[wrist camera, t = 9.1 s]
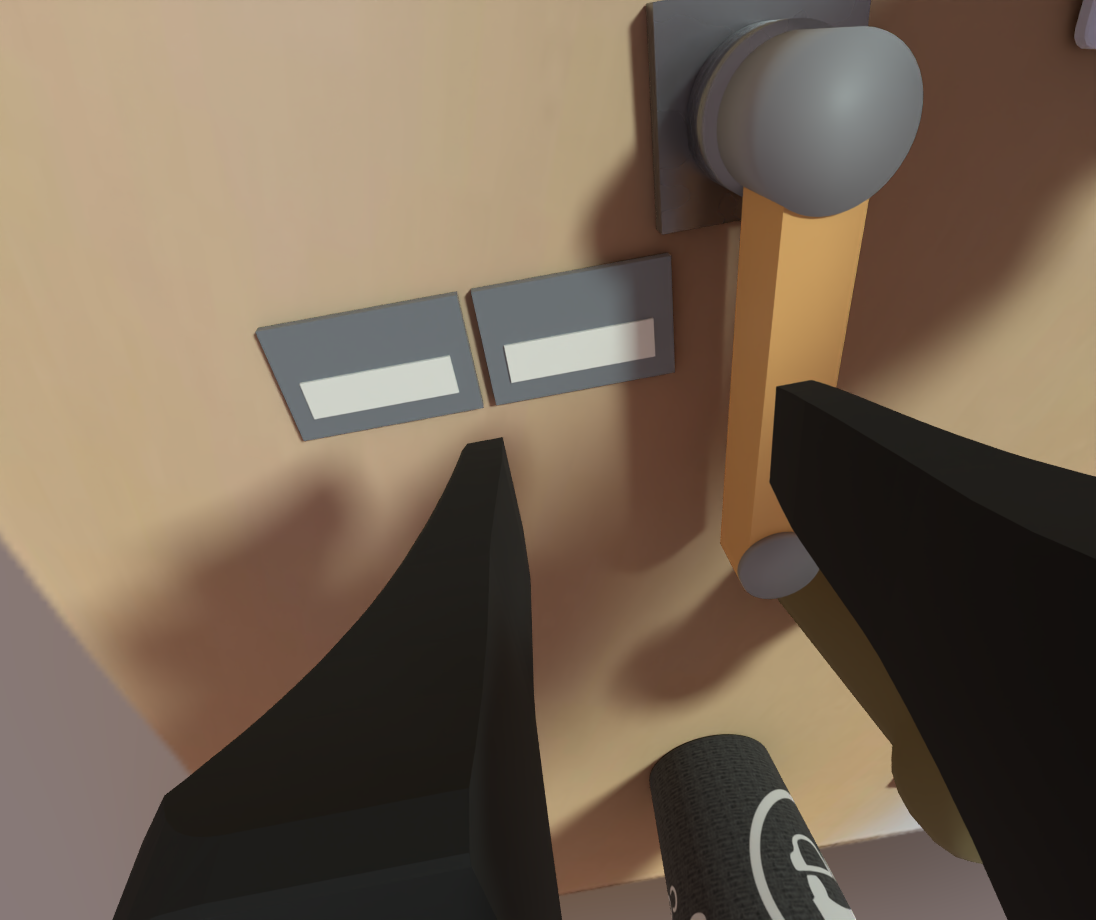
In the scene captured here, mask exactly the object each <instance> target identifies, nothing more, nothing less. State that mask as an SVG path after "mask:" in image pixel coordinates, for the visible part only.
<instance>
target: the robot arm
mask: <svg viewBox="0 0 1096 920" xmlns="http://www.w3.org/2000/svg"><path fill="white" fill-rule="evenodd" d="M1074 38H1075V42H1076V45H1077V46H1079V47H1080V48H1081V49H1096V0H1083V3H1082V6H1081V10H1080V13H1079V17H1078V21H1077V24H1076V28H1075V35H1074ZM769 483H770V485H771V487H772V489H773V491H774V493H775V495H776V498H777V500H778V502H779V504H780V506H781V508H782V510H783V512H784V514H785V516H786V518H787V520H788V522H789V524H790V526H791V528H792V529H793V531H794V532H795V534H796V535H797V537H798V538H799V540H800V541H801V543H802V544H803V546H804V547H805V549H806V550H807V552H808V553H809V555H810V556H811V557H812V559H813V560H814V562H815V563H816V565H817V566H818V568H819V569H820V571H821V572H822V573H823V575H824V576H825V578H826V579H827V581H828V582H829V583H830V585H831V586H832V588H833V589H834V591H835V592H836V593H837V595H838V596H839V598H840V599H841V601H842V602H843V604H844V605H845V606H846V608H847V609H848V611H849V612H850V614H851V615H852V616H853V618H854V619H855V621H856V622H857V624H858V625H859V626H860V628H861V629H862V631H863V632H864V634H865V636H866V637H867V639H868V640H869V642H870V643H871V645H872V647H873V648H874V650H875V651H876V653H877V654H878V656H879V658H880V660H881V662H882V663H883V665H884V667H885V669H886V671H887V673H888V674H889V676H890V678H891V680H892V682H893V684H894V685H895V687H896V689H897V691H898V693H899V694H900V696H901V698H902V700H903V702H904V704H905V705H906V707H907V709H908V711H909V713H910V715H911V717H912V719H913V721H914V723H915V725H916V727H917V729H918V730H919V732H920V734H921V736H922V738H923V740H924V742H925V744H926V746H927V748H928V750H929V752H930V754H931V756H932V758H933V760H934V762H935V764H936V765H937V767H938V769H939V772H940V774H941V776H942V778H943V780H944V782H945V784H946V786H947V788H948V790H949V792H950V795H951V797H952V799H953V801H954V803H955V805H956V807H957V809H958V811H959V813H960V815H961V817H962V820H963V822H964V824H965V826H966V828H967V830H968V832H969V834H970V836H971V838H972V840H973V843H974V845H975V847H976V849H977V852H978V854H979V856H980V859H981V861H982V863H983V865H984V867H985V870H986V872H987V874H988V877H989V878H990V881H991V883H992V886H993V888H994V890H995V892H996V895H997V897H998V899H999V901H1000V904H1001V906H1002V908H1003V910H1004V913H1005V915H1006V917H1007V919H1008V920H1096V477H1095V476H1091V475H1087V474H1083V473H1079V472H1076V471H1072V470H1069V469H1065V468H1061V467H1058V466H1054V465H1050V464H1047V463H1043V462H1039V461H1036V460H1032V459H1029V458H1025V457H1022V456H1019V455H1016V454H1012V453H1009V452H1006V451H1003V450H1000V449H997V448H994V447H991V446H988V445H985V444H982V443H979V442H976V441H973V440H970V439H967V438H965V437H962V436H959V435H956V434H953V433H951V432H948V431H945V430H942V429H940V428H937V427H934V426H932V425H929V424H927V423H924V422H921V421H919V420H916V419H914V418H911V417H909V416H906V415H903V414H901V413H898V412H896V411H893V410H891V409H888V408H886V407H883V406H881V405H879V404H876V403H874V402H871V401H869V400H866V399H864V398H861V397H859V396H856V395H854V394H851V393H848V392H846V391H843V390H841V389H838V388H835V387H833V386H830V385H827V384H824V383H821V382H817V381H814V380H808V381H802V382H797V383H792V384H786V385H781V386H776V395H775V409H774V423H773V437H772V452H771V466H770V480H769ZM113 920H562V916H561V909H560V902H559V894H558V887H557V880H556V872H555V865H554V858H553V851H552V843H551V836H550V828H549V820H548V813H547V805H546V797H545V790H544V782H543V774H542V766H541V758H540V750H539V742H538V734H537V726H536V717H535V703H534V683H533V648H532V614H531V583H530V572H529V565H528V558H527V552H526V545H525V538H524V531H523V526H522V521H521V517H520V513H519V508H518V504H517V499H516V495H515V490H514V486H513V481H512V477H511V473H510V468H509V464H508V459H507V455H506V450H505V446H504V441H503V437H501V438H496V439H491V440H485V441H480V442H475V443H469V444H467V445H466V446H465V448H464V449H463V450H462V452H461V455H460V457H459V460H458V462H457V464H456V467H455V469H454V471H453V473H452V476H451V478H450V480H449V482H448V484H447V486H446V488H445V490H444V492H443V494H442V496H441V498H440V500H439V501H438V503H437V505H436V507H435V509H434V511H433V513H432V514H431V516H430V518H429V520H428V522H427V524H426V525H425V527H424V529H423V530H422V532H421V533H420V535H419V537H418V538H417V540H416V541H415V543H414V545H413V546H412V548H411V549H410V551H409V553H408V554H407V556H406V557H405V559H404V560H403V562H402V563H401V565H400V566H399V568H398V569H397V571H396V572H395V574H394V575H393V576H392V578H391V579H390V581H389V582H388V583H387V585H386V586H385V587H384V589H383V590H382V591H381V593H380V594H379V595H378V596H377V598H376V599H375V600H374V602H373V603H372V604H371V605H370V607H369V608H368V609H367V610H366V612H365V613H364V614H363V615H362V616H361V617H360V619H359V620H358V621H357V622H356V623H355V624H354V625H353V626H352V627H351V629H350V630H349V631H348V632H347V633H346V634H345V635H344V636H343V637H342V638H341V640H340V641H339V642H338V643H337V644H336V645H335V646H334V647H333V648H332V649H331V650H330V652H329V653H328V654H327V655H326V656H325V657H324V658H323V659H322V660H321V661H320V662H319V663H318V664H317V665H316V666H315V667H314V668H313V669H312V670H311V671H310V672H309V673H308V674H307V675H306V676H305V677H304V678H303V679H302V680H301V681H300V682H299V683H298V684H297V685H296V686H295V687H294V688H293V689H291V690H290V691H289V692H288V693H287V694H286V695H285V696H284V697H283V698H282V699H280V700H279V701H278V702H277V703H276V704H275V705H274V706H273V707H272V708H271V709H270V710H268V711H267V712H266V713H265V714H264V715H263V716H262V717H261V718H259V719H258V720H257V721H256V722H255V723H254V724H253V725H251V726H250V727H249V728H248V729H247V730H246V731H244V732H243V733H242V734H241V735H240V736H238V737H237V738H236V739H235V740H233V741H232V742H231V743H230V744H228V745H227V746H226V747H225V748H224V749H222V750H221V751H220V752H219V753H217V754H216V755H215V756H214V757H212V758H211V759H210V760H209V761H208V762H206V763H205V764H204V765H203V766H201V767H200V768H199V769H198V770H196V771H195V772H194V773H193V774H192V775H190V776H189V777H188V778H187V779H185V780H184V781H183V782H182V783H180V784H179V785H178V786H176V787H175V788H174V789H172V790H171V791H170V792H169V793H167V794H166V795H165V796H164V798H163V800H162V802H161V804H160V806H159V808H158V811H157V813H156V815H155V817H154V819H153V822H152V824H151V825H150V827H149V830H148V832H147V834H146V836H145V838H144V840H143V843H142V845H141V848H140V850H139V853H138V855H137V858H136V861H135V863H134V866H133V868H132V871H131V873H130V876H129V879H128V881H127V884H126V886H125V889H124V891H123V894H122V897H121V899H120V902H119V904H118V907H117V909H116V912H115V915H114V917H113Z"/></svg>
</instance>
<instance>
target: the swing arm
mask: <svg viewBox="0 0 1096 920" xmlns="http://www.w3.org/2000/svg"><path fill="white" fill-rule="evenodd" d="M922 107H923V84H922V78H921V73H920V69H919V67H918V64H917V61H916V59H915V57H914V56H913V54H912V52H911V50H910V49H909V48H908V47H907V46H906V44H905V43H904V42H903V41H902V40H900V39H899V38H898V37H897V36H895V35H894V34H892V33H890V32H888V31H886V30H883V29H880V28H876V27H868V26H858V27H838V28H818V29H799V30H792V31H787V32H784V33H781V34H779V35H776V36H774V37H772V38H770V39H769V40H767V41H765V42H764V43H762V44H761V45H760V46H758V47H757V48H756V49H755V50H754V51H752V52H751V53H750V54H749V55H748V56H747V57H746V58H745V60H744V61H743V62H742V63H741V64H740V66H739V67H738V68H737V70H736V71H735V73H734V74H733V76H732V78H731V79H730V81H729V83H728V85H727V87H726V90H725V92H724V94H723V97H722V100H721V104H720V107H719V112H718V118H717V143H718V149H719V152H720V156H721V159H722V161H723V164H724V166H725V167H726V169H727V171H728V172H729V174H730V175H731V176H732V177H733V178H734V180H736V181H737V182H738V183H739V184H740V185H742V186H743V202H742V217H741V233H740V248H739V264H738V279H737V294H736V310H735V325H734V340H733V356H732V371H731V386H730V402H729V417H728V433H727V448H726V463H725V479H724V494H723V509H722V525H721V540H720V544H721V546H722V548H723V549H724V551H725V553H726V555H727V557H728V559H729V561H730V563H731V565H732V567H733V569H734V571H735V573H736V575H737V577H738V579H739V581H740V582H741V584H742V586H743V588H744V590H745V591H747V592H748V593H749V594H751V595H753V596H755V597H758V598H763V599H774V598H780V597H784V596H787V595H790V594H793V593H795V592H797V591H798V590H800V589H802V588H803V587H805V586H806V585H807V584H808V583H809V582H810V581H811V580H812V579H813V578H814V577H815V576H816V574H817V572H818V571H819V568H818V566H817V565H816V563H815V562H814V560H813V559H812V557H811V556H810V555H809V553H808V552H807V550H806V549H805V547H804V546H803V544H802V543H801V541H800V540H799V538H798V537H797V535H796V534H795V532H794V531H793V529H792V528H791V526H790V524H789V522H788V520H787V518H786V516H785V514H784V512H783V510H782V508H781V506H780V504H779V502H778V500H777V498H776V495H775V493H774V491H773V489H772V487H771V485H770V483H769V480H770V466H771V452H772V437H773V423H774V409H775V395H776V386H781V385H786V384H792V383H797V382H802V381H808V380H814V381H817V382H821V383H824V384H827V385H830V386H833V387H835V388H836V386H837V380H838V374H839V368H840V363H841V357H842V351H843V346H844V340H845V334H846V328H847V323H848V317H849V311H850V305H851V300H852V294H853V288H854V282H855V277H856V271H857V265H858V259H859V254H860V248H861V242H862V236H863V231H864V225H865V219H866V214H867V208H868V202H869V198H870V197H871V196H873V195H874V194H875V193H876V192H877V191H879V190H880V189H881V188H882V187H883V186H884V185H885V184H886V183H887V182H888V181H889V179H890V178H891V177H892V176H893V175H894V174H895V172H896V171H897V169H898V168H899V167H900V165H901V164H902V162H903V160H904V159H905V157H906V155H907V154H908V152H909V150H910V148H911V146H912V143H913V141H914V138H915V136H916V133H917V130H918V127H919V123H920V119H921V113H922Z"/></svg>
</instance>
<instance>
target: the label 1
mask: <svg viewBox="0 0 1096 920" xmlns="http://www.w3.org/2000/svg"><path fill="white" fill-rule="evenodd" d="M256 335H257V337H258V339H259V341H260V344H261V346H262V348H263V350H264V353H265V355H266V357H267V359H268V362H269V364H270V366H271V368H272V371H273V373H274V375H275V377H276V380H277V382H278V384H279V386H280V389H281V391H282V393H283V395H284V398H285V400H286V402H287V404H288V407H289V409H290V411H291V413H292V416H293V418H294V420H295V422H296V425H297V427H298V429H299V431H300V433H301V436H302V438H303V440H304V441H307V440H312V439H318V438H323V437H329V436H334V435H339V434H345V433H350V432H356V431H361V430H366V429H372V428H377V427H382V426H388V425H393V424H399V423H404V422H409V421H415V420H420V419H426V418H431V417H436V416H442V415H447V414H453V413H458V412H463V411H469V410H474V409H480V408H484V407H483V400H482V395H481V391H480V387H479V383H478V379H477V374H476V370H475V366H474V362H473V358H472V353H471V349H470V345H469V341H468V336H467V332H466V328H465V324H464V320H463V315H462V311H461V307H460V303H459V299H458V294H457V291H456V292H451V293H445V294H440V295H435V296H429V297H424V298H418V299H413V300H407V301H402V302H396V303H391V304H386V305H380V306H375V307H369V308H364V309H358V310H353V311H347V312H342V313H336V314H331V315H326V316H320V317H315V318H309V319H304V320H298V321H293V322H287V323H282V324H277V325H271V326H266V327H260V328H258V329H257V330H256Z"/></svg>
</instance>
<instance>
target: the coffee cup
mask: <svg viewBox="0 0 1096 920" xmlns="http://www.w3.org/2000/svg"><path fill="white" fill-rule="evenodd" d="M649 781H650V789H651V795H652V801H653V807H654V813H655V819H656V825H657V831H658V837H659V843H660V849H661V855H662V861H663V867H664V873H665V879H666V885H667V891H668V897H669V903H670V909H671V915H672V920H856V918H855V916H854V914H853V912H852V910H851V908H850V907H849V905H848V903H847V901H846V899H845V897H844V895H843V893H842V891H841V890H840V888H839V886H838V884H837V882H836V880H835V878H834V876H833V874H832V873H831V871H830V869H829V867H828V865H827V863H826V861H825V859H824V858H823V856H822V854H821V852H820V850H819V848H818V846H817V844H816V842H815V840H814V838H813V837H812V835H811V833H810V831H809V829H808V827H807V825H806V823H805V821H804V820H803V818H802V816H801V814H800V812H799V810H798V808H797V806H796V804H795V802H794V801H793V799H792V797H791V795H790V793H789V791H788V789H787V787H786V785H785V784H784V782H783V780H782V778H781V776H780V774H779V772H778V770H777V768H776V766H775V765H774V763H773V761H772V759H771V757H770V755H769V753H768V751H767V750H766V748H765V747H764V746H763V745H762V744H761V743H760V742H758V741H756V740H754V739H752V738H749V737H745V736H740V735H716V736H710V737H705V738H701V739H697V740H694V741H691V742H689V743H686V744H684V745H682V746H680V747H678V748H676V749H674V750H672V751H671V752H669V753H668V754H666V755H665V756H664V757H663V758H662V759H661V760H660V761H659V762H658V763H657V764H656V765H655V766H654V768H653V770H652V772H651V774H650V780H649Z"/></svg>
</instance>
